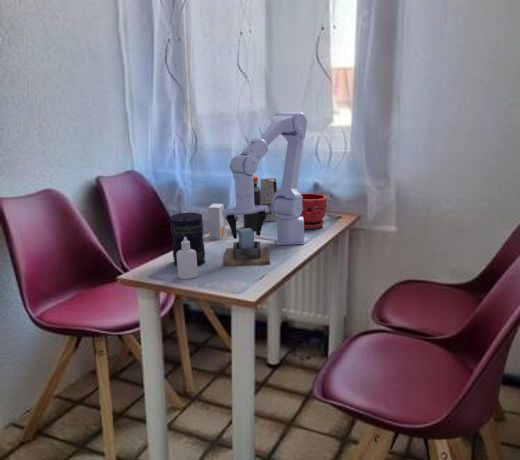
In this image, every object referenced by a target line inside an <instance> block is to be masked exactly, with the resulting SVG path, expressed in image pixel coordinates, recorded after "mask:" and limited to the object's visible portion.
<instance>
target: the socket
mask: <svg viewBox="0 0 520 460" xmlns="http://www.w3.org/2000/svg"><path fill="white" fill-rule="evenodd" d="M232 245H233V246H232V247H227V248H225V254H224V261H223V266H225V267H230V266H232V267H233V266H257V265H259V266H261V265H271V258H270V252H269V251H270V249H269V246H261V241H258V240H254V249H239V241H236V242H235V241H234V242H233V244H232Z"/></svg>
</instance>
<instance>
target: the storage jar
mask: <svg viewBox="0 0 520 460" xmlns="http://www.w3.org/2000/svg"><path fill="white" fill-rule="evenodd" d="M169 218H170V219H169V221H170V230H171V231H170V232H171V233H170V234H171V236H172V257H173V264H174V266H175V267H176V268H177V252H178V251H179V250H182V247H181V242H182V241H183V240H184V237H186V238H187V241H190V249H193V250H195V251H196V256H197V268H198V267H201V266H203V265H204V264H206V259H205V258H206V252H205V251H206V249H205V244H204V236H203V235H204V223H203V215H202V214H201V213H197V212H183V213H181V212H180V213H177V214H174V215H173V214H172V215H171V216H170V217H169Z"/></svg>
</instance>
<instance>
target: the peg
mask: <svg viewBox="0 0 520 460" xmlns="http://www.w3.org/2000/svg"><path fill="white" fill-rule="evenodd" d="M237 231H238V234H237V236H238V242H239V249H254V241H255V231H253V230H252V229H251V228H245V229H244V228H238V230H237Z"/></svg>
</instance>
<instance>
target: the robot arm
mask: <svg viewBox="0 0 520 460" xmlns="http://www.w3.org/2000/svg"><path fill="white" fill-rule="evenodd" d="M307 126H308V118H307V117H306V115H305V113H303V112H302V111H290V112H289V111H277V112H275V114H274V115H273V116H272V117H271V122H270V123H269V126H267V128H266V129H265V130H264V132H263V133H262V134H261V136H260V137H259V138H252V139H251V140H250V142H249V144H248V145H247V146H246V147H245V148H244V149H243V150H242V151H241V152H240V154H236V155H235V156H234V157H232V158H231V161H230V164H229V169H230V171H231V173H232V176H233V179H234V190H235V191H234V192H235V194H234V195H235V207H230V208H228V209H227V208H225V209H224V210H222V216H223V217H224V219H225V220H226V221H227V223H228V226H229V227H230V230H231V235H232V238H233V239H234V240H237V239H238V234H237V218H236V217H235V216H242V215H243V216H244V215H245V214H253V213H254V214H255V221H256V230H255V234H256V236H258V237H260V236H261V233H262V229H263V225H264V222H265V221H264V220H265V219H266V214H265V213H267V212H269V209H268V206H267V205H263V206H254V180H253V176H254V174H255V173H256V172H257V170H258V166H259V163H260V161H261V160H262V158H263V157H264V156H265V155H266V154H267V153H268V152H269V145H270V144H272V142H273V141H274V140H276V139H277V138H278V137H279V136H280V135H281V136H282V137H283V138H285V140H286V141H287V145H286V146H287V147H286V153H285V160H284V165H283V174H282V180H281V187H280V188H279V189H278V190H277V192H275V196H274V199H273V201H272V204H271V208H272V211H273V213H274V214H275V217H277V221H276V236H275V242H276V245H277V246H286V245H304V244H305V229H304V219H303V217H299V216H300V215H301V213H302V210H303V205H302V198H303V197H302V195H301V194H302V193H300V192H299V191H298V183H299V178H300V170H301V163H302V157H303V150H304V143H305V138H306V134H307V133H306V132H307Z"/></svg>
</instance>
